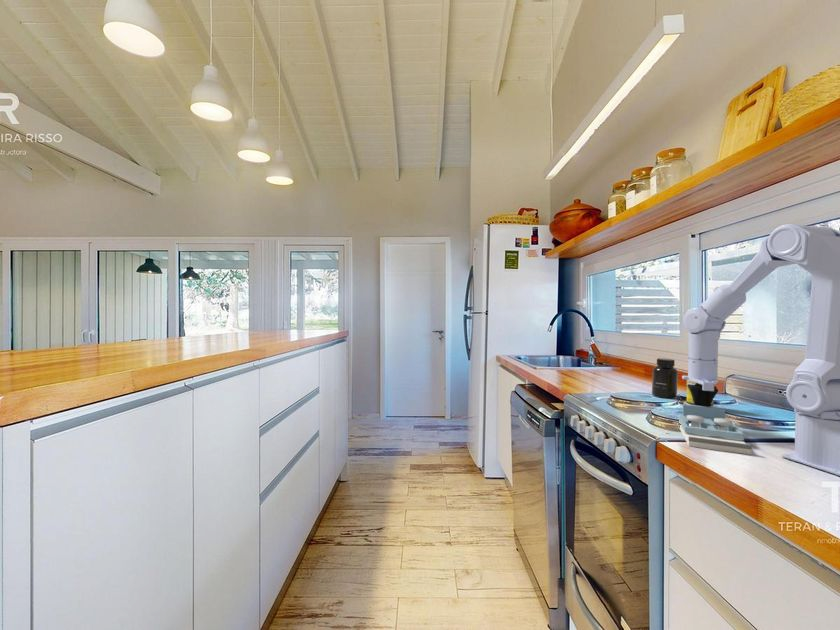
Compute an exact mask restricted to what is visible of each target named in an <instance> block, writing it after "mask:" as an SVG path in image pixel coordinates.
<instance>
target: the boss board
mask: <svg viewBox="0 0 840 630" xmlns="http://www.w3.org/2000/svg"><path fill="white" fill-rule="evenodd" d="M687 420H688V421H691V427H699V428H701V427H700V423H703V422H704V418H703V417H701V416H696V415H687ZM714 423H715V424H718V425H716V430H723V431H728V426H732V424H734V423H733V420H731V419H729V420H728V418H725V419H723V418H714ZM679 430H680V432H681V434H682V435H683V438H684V439H685V442H686V443H687V445H688V446H689V447H692V448H693V447H695V448H701V449H709V450H715V451H723V452H729V453H736V454H743V455H750V456H751V455H752V451H753V449H752V447H753V445H752V444H749V443H746V442H745V440H740V439H732V438H724V437H716V436H708V435H700V434H693V433H685V432H684V430H683V428H682V426H681V425H680V428H679Z"/></svg>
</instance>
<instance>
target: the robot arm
mask: <svg viewBox="0 0 840 630" xmlns="http://www.w3.org/2000/svg"><path fill="white" fill-rule="evenodd" d="M760 244H761V245H760V249H759V250H758V252H757V253H756V254H755V255H754V256H753V258H752V259H751V260H750V261H749V262H748V263H747V264H746V265H745V267H744V268H743V269H742V270H741V271H740V273H738V275H737V276H736V277H735V278H734V279H733V280H732V281H731V282H730V283H729V284H721V285H720V286H715V287H714V288H713V293H711V294H710V295H709V297H707V298H706V300H704V301H703V302H701V303H700V304H699V306H697V307H695V308H690V309H687V311H686V313H684V315H683V319H682V324H683V326H684V328H685V330H686V331H687V332H688V359H687V360H688V362H687V363H688V364H687V365H688V366H687V367H688V368H687V375H681V378H682V380H686V381H687V380H690V381H693V382H696V384H695V385H690V384H689V385H687V384H686V387H687V386H688V388H689V390H690V392H691V395H692V398H693V403H694V405H698V406H708V407H710V406H711V403H712V401H713V402H714V399H715V397H716V395H717V394H718V393H719V389H718V388H717V386H715V385H716V384H718V383H719V378H718V370H719V369H718V367H719V339H720V338H721V332H722V331H723V330H724V329H725V327H726V325H727V323H726V322H727V321H726V320H727V319H728V318H729V317H731V316H732V314H734V313H735V312H736V311H737V310H738V309H739V308H740V307H742V305H744V304H745V303H746V302H747V295H746V294H747V293H749V291H751V290H752V289H753V288H754V287H755V286H756V285H758V284H759V283H760V282H761V281H763V280H764V279H765V278H766V277H767V276H769V275H770V274H771V273H773V271H775V270H777V268H780V267H785V266H786V267H787V266H790V265H798V266H799V267H800V268H802V269H804V270H805V271H807V272H808V273H810V274H811V276H812V277H811V287H810V288H811V289H810V298H809V299H810V300H809V310H808V320H807V332H806V343H805V351H804V352H805V355H804V360H803V361H802V362H801V363H800V364H799V365H798V366H797V367H796V368H795V370H794V371H793V378H792V380H790V381H791V382H790V383H788V385H787V387H786V389H785V396H786V400H787V402H788V403H789V405H790V406H791V407H792V409H793V412H794V413H795V426H794V430H795V431H794V452H789V453H782V454H781V457H782V458H784V459H787V460H791V461H794V462H798V463H801V464H803V465H806V466H809V467H812V468H815V469H819V470H820V471H824V472H827V473H830V474H833V475H836V476H839V477H840V231H839V230H837V229H835V228H833V227H830V226H823V225H822V226H814V225H813V226H812V225H811V226H810V225H800V224H795V223H785V224H781V225H780V226H778V227H776V228H775V229H773V231H771V233H770V234H769V236H767V237H766V238H765V239H763V240H762V241H761V243H760Z"/></svg>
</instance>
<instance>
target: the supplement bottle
mask: <svg viewBox="0 0 840 630" xmlns="http://www.w3.org/2000/svg"><path fill="white" fill-rule="evenodd" d="M675 363H676V362H675V359H673V358H665V357H664V358H662V357H661V358H660V357H659V358H657V359H656V365H657V366H654V367H653V368H652V381H651V382H652V383H651V394H652V396H654V397H656V398H660V399H669V400H670V399H677V396H678V381H679V378H678V377H679V376H678V375H679V371H678V369H677V368H675Z"/></svg>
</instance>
